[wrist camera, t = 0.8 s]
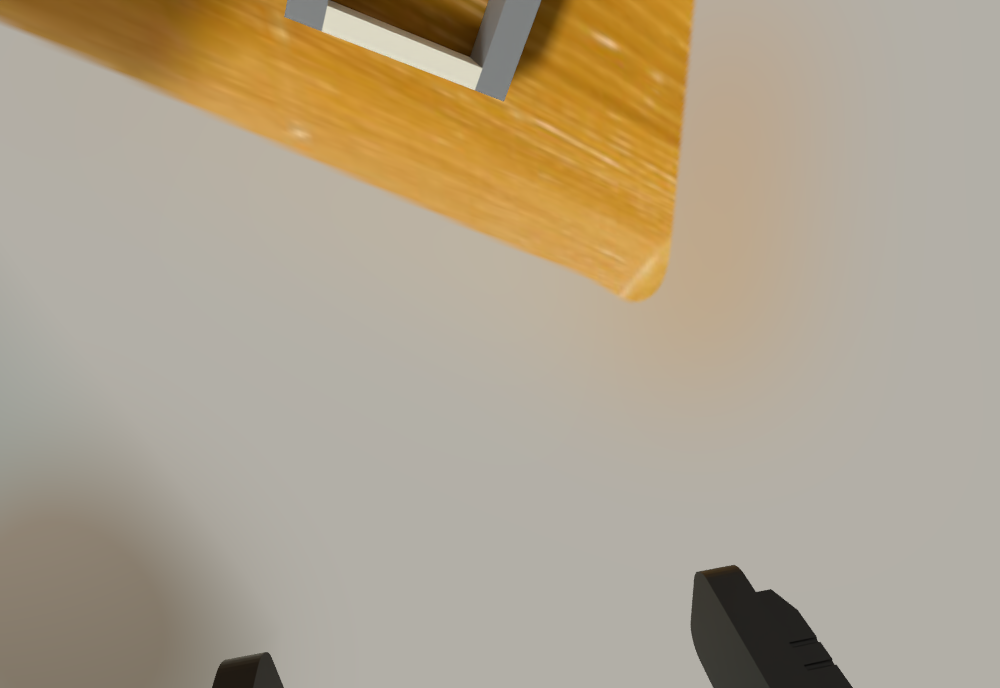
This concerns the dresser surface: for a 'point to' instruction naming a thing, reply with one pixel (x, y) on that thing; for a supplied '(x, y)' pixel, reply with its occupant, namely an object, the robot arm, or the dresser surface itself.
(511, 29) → the grey white square frame
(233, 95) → the dresser surface
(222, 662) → the robot arm
